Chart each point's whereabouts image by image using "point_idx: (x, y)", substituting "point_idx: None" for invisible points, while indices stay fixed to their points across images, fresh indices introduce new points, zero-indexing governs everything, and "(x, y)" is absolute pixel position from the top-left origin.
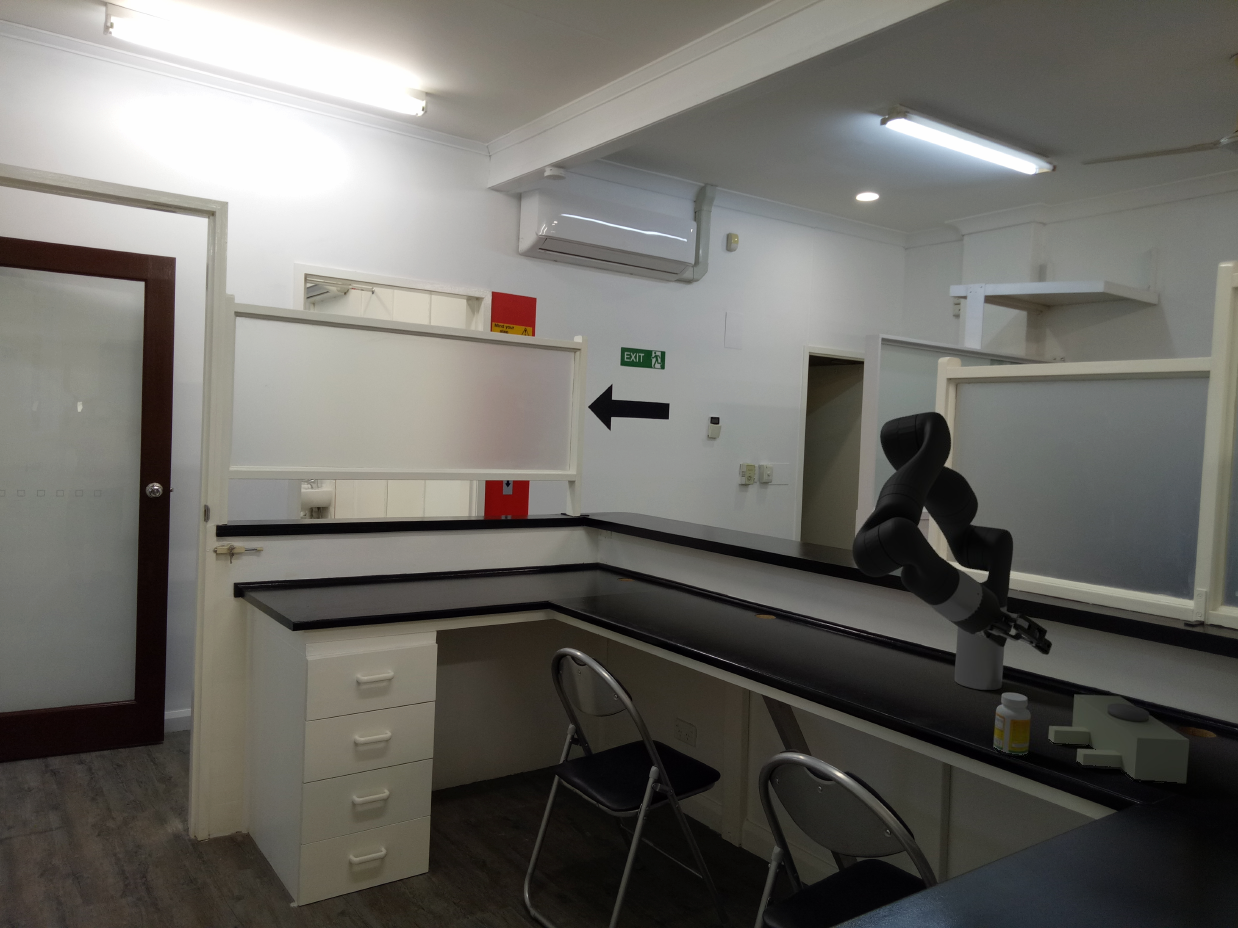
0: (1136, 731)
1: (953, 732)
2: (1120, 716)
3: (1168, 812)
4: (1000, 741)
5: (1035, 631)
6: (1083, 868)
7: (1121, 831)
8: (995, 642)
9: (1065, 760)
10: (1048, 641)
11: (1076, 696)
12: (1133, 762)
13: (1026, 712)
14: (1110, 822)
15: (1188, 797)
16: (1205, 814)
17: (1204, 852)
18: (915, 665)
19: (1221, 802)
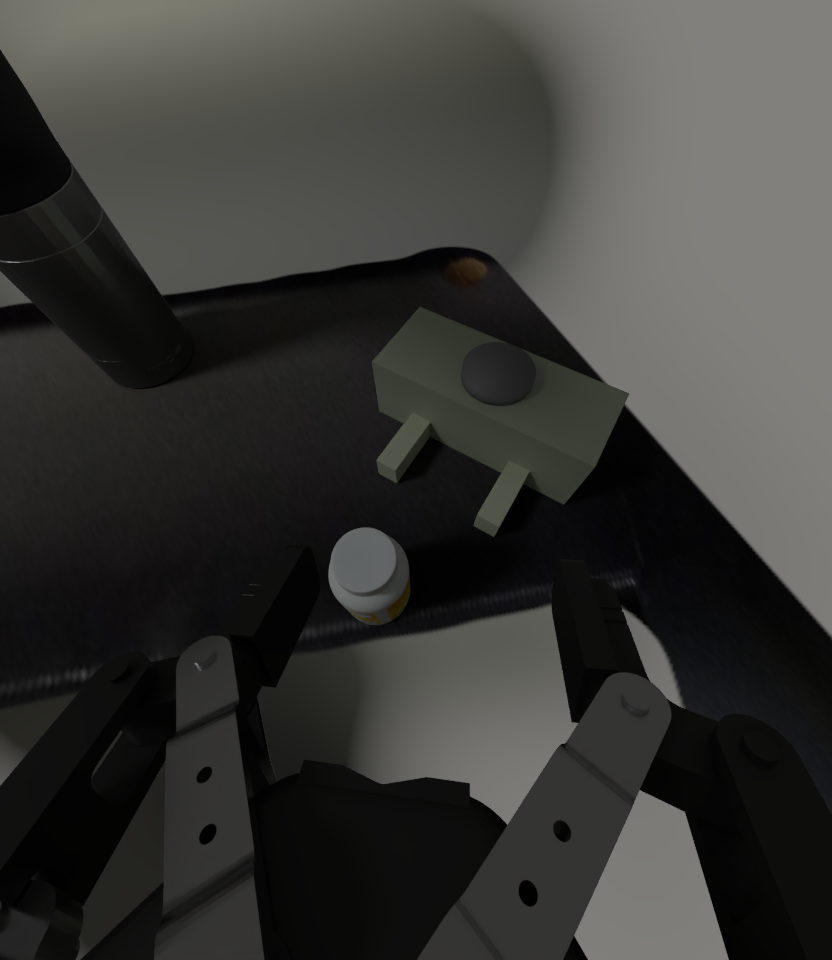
0: (566, 437)
1: None
2: (507, 402)
3: (678, 572)
4: (372, 622)
5: (698, 779)
6: None
7: None
8: (297, 636)
9: (455, 531)
10: (624, 617)
11: (379, 366)
12: (569, 488)
13: (401, 562)
14: None
15: (637, 485)
16: (695, 522)
17: (826, 674)
18: (13, 374)
19: (663, 458)
